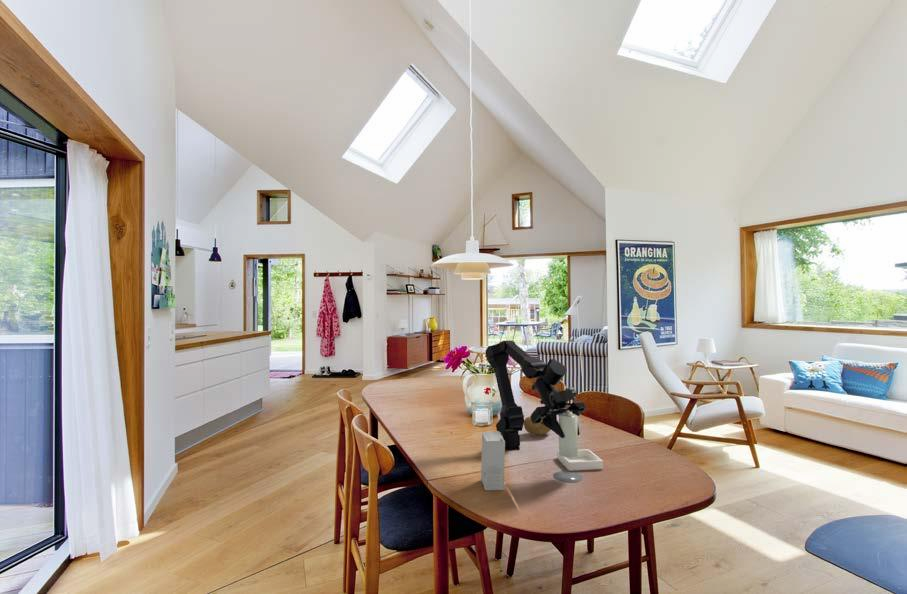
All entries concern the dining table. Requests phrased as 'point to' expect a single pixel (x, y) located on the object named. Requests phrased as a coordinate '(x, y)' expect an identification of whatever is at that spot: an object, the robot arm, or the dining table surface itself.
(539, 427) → the potato
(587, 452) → the stoneware dish
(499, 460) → the skincare box
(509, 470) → the dining table surface
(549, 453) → the dining table surface
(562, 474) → the slate coaster
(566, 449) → the pebble cup
